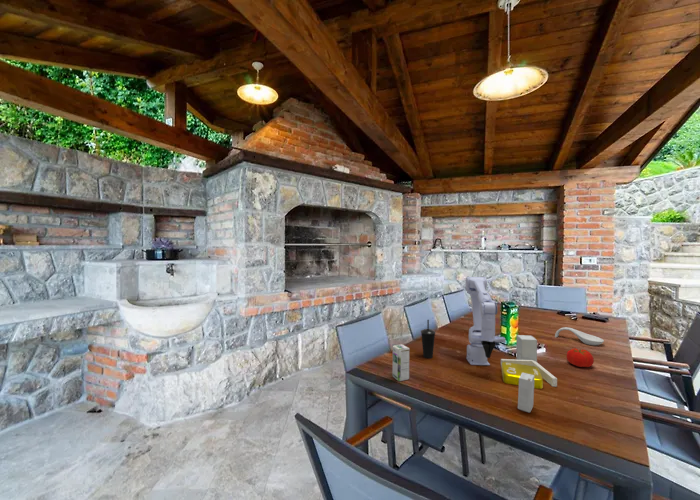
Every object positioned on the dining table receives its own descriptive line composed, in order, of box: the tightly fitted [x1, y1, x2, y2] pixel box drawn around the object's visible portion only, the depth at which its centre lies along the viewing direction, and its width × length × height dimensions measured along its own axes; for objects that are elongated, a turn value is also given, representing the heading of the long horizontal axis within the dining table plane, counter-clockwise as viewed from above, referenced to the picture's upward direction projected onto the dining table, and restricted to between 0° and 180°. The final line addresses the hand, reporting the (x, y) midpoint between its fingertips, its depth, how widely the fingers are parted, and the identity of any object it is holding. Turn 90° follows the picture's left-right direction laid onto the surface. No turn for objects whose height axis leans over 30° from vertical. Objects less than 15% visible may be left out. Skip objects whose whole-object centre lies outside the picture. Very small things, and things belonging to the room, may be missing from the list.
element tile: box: [501, 362, 544, 390], centre depth 135 cm, size 15×15×5 cm
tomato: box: [566, 347, 595, 368], centre depth 149 cm, size 11×11×8 cm
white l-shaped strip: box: [500, 358, 558, 387], centre depth 138 cm, size 16×19×4 cm
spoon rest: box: [554, 326, 605, 346], centre depth 183 cm, size 24×12×7 cm, turn 43°
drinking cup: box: [420, 319, 436, 359], centre depth 160 cm, size 8×8×20 cm
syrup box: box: [391, 344, 410, 382], centre depth 136 cm, size 6×6×14 cm
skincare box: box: [517, 373, 535, 413], centre depth 112 cm, size 6×4×12 cm
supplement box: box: [515, 334, 538, 363], centre depth 153 cm, size 7×7×13 cm
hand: (487, 357), depth 138 cm, fingers closed
